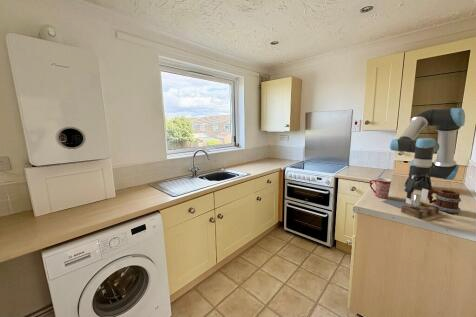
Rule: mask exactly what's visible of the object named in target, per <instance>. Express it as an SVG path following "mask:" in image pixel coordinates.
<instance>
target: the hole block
mask: <svg viewBox="0 0 476 317" xmlns="http://www.w3.org/2000/svg"><path fill="white" fill-rule="evenodd" d="M412 204H413V203H412ZM412 204H409V205H405V206H402V208H400V213H402V214H405V215H407V216H410V217H413V218H415V219H418V220H420V219H423V218H427V217H430V216H434V215H437V214H439V212H440V211H439V207H436V206H433V205H432V204H430V203H426V202H423V201H420V205H419V210H415V209H412Z"/></svg>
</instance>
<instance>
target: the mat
mask: <svg viewBox="0 0 476 317" xmlns="http://www.w3.org/2000/svg"><path fill="white" fill-rule="evenodd" d="M380 202H381V203H384V204H387V205H390V206H391V207H392V206H393V207H395V208H398V209H401V208H402V206H405V205H409V204H408V203H406V201H404V200H400V199H398V198H394V197H393V198H390V199H384V200H381V201H380Z"/></svg>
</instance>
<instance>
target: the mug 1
mask: <svg viewBox="0 0 476 317" xmlns="http://www.w3.org/2000/svg"><path fill="white" fill-rule="evenodd" d="M372 182H374V184H375V189H374V188H373V186H372ZM391 183H392V180H391V179H389V178H386V177H376V178H375V179H371V180H370V181H369V187H370V189H371V191H372V192H373V193H374V196H375V197H376V198H378V199H384V200H388V198H389V195H390V194H389V193H390V188H391V185H392V184H391Z"/></svg>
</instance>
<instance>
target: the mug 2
mask: <svg viewBox="0 0 476 317" xmlns="http://www.w3.org/2000/svg"><path fill="white" fill-rule="evenodd" d="M433 195H435V196H434V197H435V198H436V199H434V197H433ZM427 200H428V204H430V205H433V206H436V207H439V212H441V213H446V214H448V215H449V214H450V215H451V214H452V215H458V214H459V212H461V208H460V207H459V204H460V202H462V199H461V197H460V193H459V192H457V191H453V190H449V189H438V190H435V189H434V188H431V190H429V191H428V197H427Z"/></svg>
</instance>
